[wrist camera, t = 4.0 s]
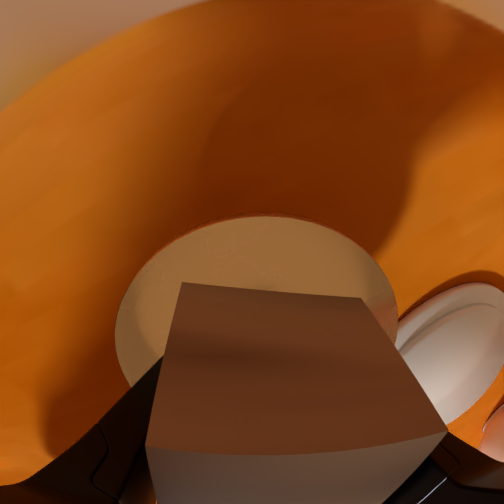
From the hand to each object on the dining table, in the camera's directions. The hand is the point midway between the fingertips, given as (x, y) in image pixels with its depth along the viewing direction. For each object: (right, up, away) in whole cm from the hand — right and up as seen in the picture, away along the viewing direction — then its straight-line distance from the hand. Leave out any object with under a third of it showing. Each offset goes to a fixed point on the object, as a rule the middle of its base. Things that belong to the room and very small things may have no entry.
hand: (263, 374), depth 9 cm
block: (0, 0, 0) cm, 0 cm away
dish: (+12, -4, +8) cm, 15 cm away
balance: (-2, -6, +7) cm, 9 cm away
